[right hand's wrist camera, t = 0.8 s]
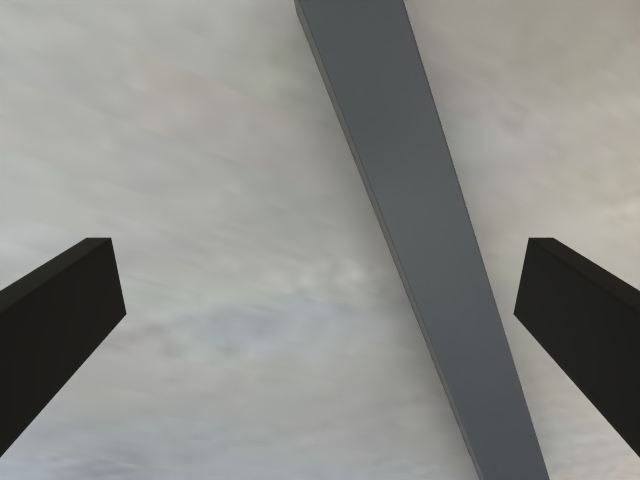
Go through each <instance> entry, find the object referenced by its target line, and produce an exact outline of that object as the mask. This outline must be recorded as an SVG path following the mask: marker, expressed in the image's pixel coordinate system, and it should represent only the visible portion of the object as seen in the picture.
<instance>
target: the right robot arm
mask: <svg viewBox="0 0 640 480" xmlns="http://www.w3.org/2000/svg"><path fill="white" fill-rule="evenodd" d="M125 315H126V309H125V304H124V300H123V295H122V290H121V285H120V280H119V275H118V270H117V265H116V260H115V255H114V250H113V245H112V240H111V238H86V239H84V240H82V241H81V242H79V243H77V244H76V245H74V246H73V247H71V248H69V249H68V250H66V251H64V252H63V253H61V254H60V255H58V256H56V257H55V258H53V259H51V260H50V261H48V262H47V263H45V264H43V265H42V266H40V267H38V268H37V269H35V270H34V271H32V272H30V273H29V274H27V275H25V276H24V277H22V278H21V279H19V280H17V281H16V282H14V283H12V284H11V285H9V286H8V287H6V288H4V289H3V290H1V291H0V457H1V456H2V455H3V454H4V453H5V452H6V450H7V449H8V448H9V447H10V446H11V445H12V444H13V442H14V441H15V440H16V439H17V438H18V437H19V436H20V434H21V433H22V432H23V431H24V430H25V429H26V428H27V427H28V425H29V424H30V423H31V422H32V421H33V420H34V419H35V417H36V416H37V415H38V414H39V413H40V412H41V411H42V409H43V408H44V407H45V406H46V405H47V404H48V403H49V402H50V400H51V399H52V398H53V397H54V396H55V395H56V394H57V392H58V391H59V390H60V389H61V388H62V387H63V386H64V384H65V383H66V382H67V381H68V380H69V379H70V378H71V377H72V375H73V374H74V373H75V372H76V371H77V370H78V369H79V367H80V366H81V365H82V364H83V363H84V362H85V361H86V359H87V358H88V357H89V356H90V355H91V354H92V353H93V351H94V350H95V349H96V348H97V347H98V346H99V345H100V344H101V342H102V341H103V340H104V339H105V338H106V337H107V336H108V334H109V333H110V332H111V331H112V330H113V329H114V328H115V326H116V325H117V324H118V323H119V322H120V321H121V320H122V319H123V317H124V316H125ZM514 315H515V316H516V317H517V319H518V320H519V321H520V322H521V323H522V324H523V325H524V326H525V328H526V329H527V330H528V331H529V332H530V333H531V334H532V336H533V337H534V338H535V339H536V340H537V341H538V342H539V344H540V345H541V346H542V347H543V348H544V349H545V350H546V351H547V353H548V354H549V355H550V356H551V357H552V358H553V359H554V361H555V362H556V363H557V364H558V365H559V366H560V367H561V369H562V370H563V371H564V372H565V373H566V374H567V375H568V377H569V378H570V379H571V380H572V381H573V382H574V383H575V384H576V386H577V387H578V388H579V389H580V390H581V391H582V392H583V394H584V395H585V396H586V397H587V398H588V399H589V400H590V402H591V403H592V404H593V405H594V406H595V407H596V408H597V409H598V411H599V412H600V413H601V414H602V415H603V416H604V417H605V419H606V420H607V421H608V422H609V423H610V424H611V425H612V427H613V428H614V429H615V430H616V431H617V432H618V433H619V434H620V436H621V437H622V438H623V439H624V440H625V441H626V442H627V444H628V445H629V446H630V447H631V448H632V449H633V450H634V452H635V453H636V454H637V455H638V456H639V457H640V291H639V290H637V289H636V288H634V287H632V286H631V285H629V284H628V283H626V282H624V281H623V280H621V279H619V278H618V277H616V276H615V275H613V274H611V273H610V272H608V271H606V270H605V269H603V268H602V267H600V266H598V265H597V264H595V263H593V262H592V261H590V260H589V259H587V258H585V257H584V256H582V255H580V254H579V253H577V252H576V251H574V250H572V249H571V248H569V247H567V246H566V245H564V244H563V243H561V242H559V241H558V240H556V239H554V238H529V240H528V245H527V250H526V255H525V260H524V265H523V270H522V275H521V280H520V285H519V290H518V295H517V299H516V304H515V309H514Z"/></svg>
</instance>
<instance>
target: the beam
mask: <svg viewBox="0 0 640 480" xmlns="http://www.w3.org/2000/svg"><path fill="white" fill-rule="evenodd" d="M294 2H295V7H296V12H297V15H298V17H299V20H300V22H301V25H302V27H303V30H304V32H305V35H306V38H307V40H308V43H309V45H310V48H311V50H312V53H313V55H314V58H315V60H316V63H317V66H318V68H319V71H320V73H321V76H322V78H323V81H324V83H325V86H326V89H327V91H328V94H329V96H330V99H331V101H332V104H333V106H334V109H335V112H336V114H337V117H338V119H339V122H340V124H341V127H342V129H343V132H344V134H345V137H346V140H347V142H348V145H349V147H350V150H351V152H352V155H353V157H354V160H355V163H356V165H357V168H358V170H359V173H360V175H361V178H362V180H363V183H364V185H365V188H366V191H367V193H368V196H369V198H370V201H371V203H372V206H373V208H374V211H375V214H376V216H377V219H378V221H379V224H380V226H381V229H382V231H383V234H384V237H385V239H386V242H387V244H388V247H389V249H390V252H391V254H392V257H393V259H394V262H395V265H396V267H397V270H398V272H399V275H400V277H401V280H402V282H403V285H404V288H405V290H406V293H407V295H408V298H409V300H410V303H411V305H412V308H413V311H414V313H415V316H416V318H417V321H418V323H419V326H420V328H421V331H422V333H423V336H424V339H425V341H426V344H427V346H428V349H429V351H430V354H431V356H432V359H433V362H434V364H435V367H436V369H437V372H438V374H439V377H440V379H441V382H442V384H443V387H444V390H445V392H446V395H447V397H448V400H449V402H450V405H451V407H452V410H453V413H454V415H455V418H456V420H457V423H458V425H459V428H460V430H461V433H462V436H463V438H464V441H465V443H466V446H467V448H468V451H469V453H470V456H471V458H472V461H473V464H474V466H475V469H476V471H477V474H478V476H479V479H480V480H550V479H549V476H548V473H547V469H546V466H545V463H544V460H543V456H542V453H541V450H540V446H539V443H538V440H537V437H536V433H535V430H534V427H533V424H532V420H531V417H530V414H529V411H528V407H527V404H526V401H525V397H524V394H523V391H522V388H521V384H520V381H519V378H518V375H517V371H516V368H515V365H514V361H513V358H512V355H511V352H510V348H509V345H508V342H507V339H506V335H505V332H504V329H503V325H502V322H501V319H500V316H499V312H498V309H497V306H496V303H495V299H494V296H493V293H492V289H491V286H490V283H489V280H488V276H487V273H486V270H485V267H484V263H483V260H482V257H481V253H480V250H479V247H478V244H477V240H476V237H475V234H474V231H473V227H472V224H471V221H470V217H469V214H468V211H467V208H466V204H465V201H464V198H463V195H462V191H461V188H460V185H459V181H458V178H457V175H456V172H455V168H454V165H453V162H452V159H451V155H450V152H449V149H448V145H447V142H446V139H445V136H444V132H443V129H442V126H441V123H440V119H439V116H438V113H437V109H436V106H435V103H434V100H433V96H432V93H431V90H430V87H429V83H428V80H427V77H426V73H425V70H424V67H423V64H422V60H421V57H420V54H419V51H418V47H417V44H416V41H415V37H414V34H413V31H412V28H411V24H410V21H409V18H408V15H407V11H406V8H405V5H404V1H403V0H294Z"/></svg>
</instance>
